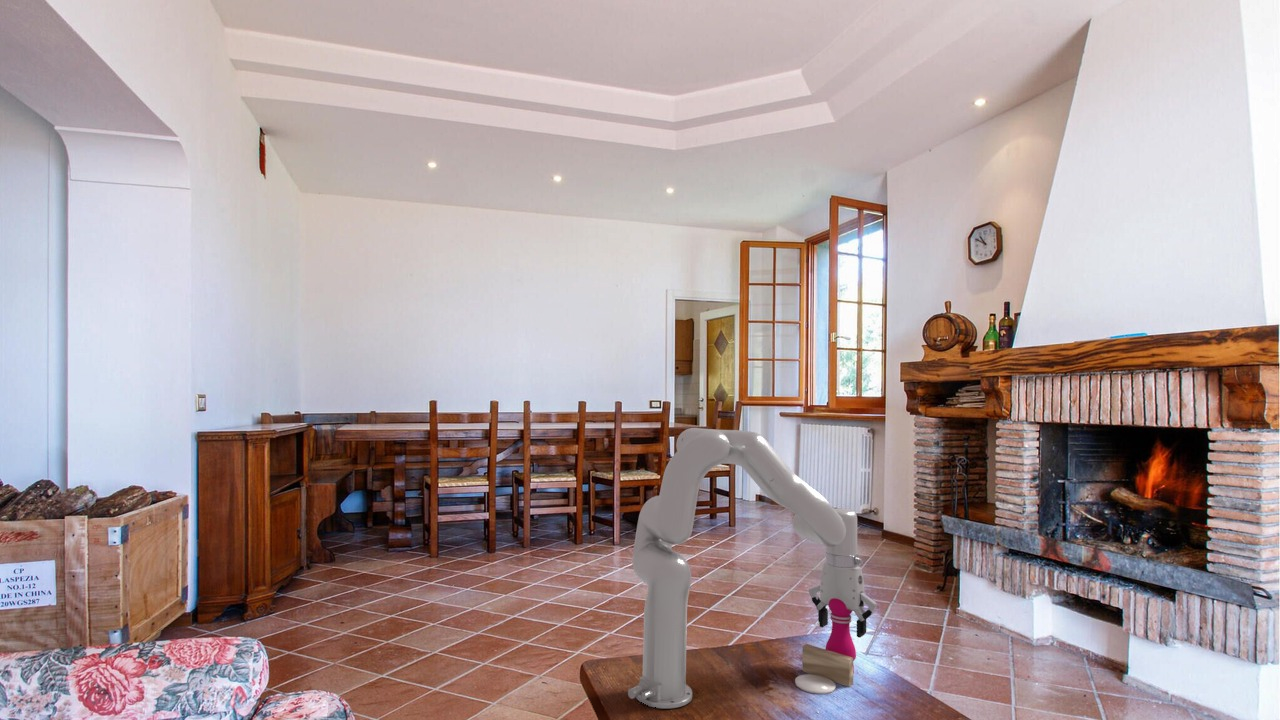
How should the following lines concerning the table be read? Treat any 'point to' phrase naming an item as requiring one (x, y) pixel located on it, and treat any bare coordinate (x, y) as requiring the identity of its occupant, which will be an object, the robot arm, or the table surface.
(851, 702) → the table surface
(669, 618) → the robot arm
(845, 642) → the pepper mill
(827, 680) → the coaster
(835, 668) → the oak rail
